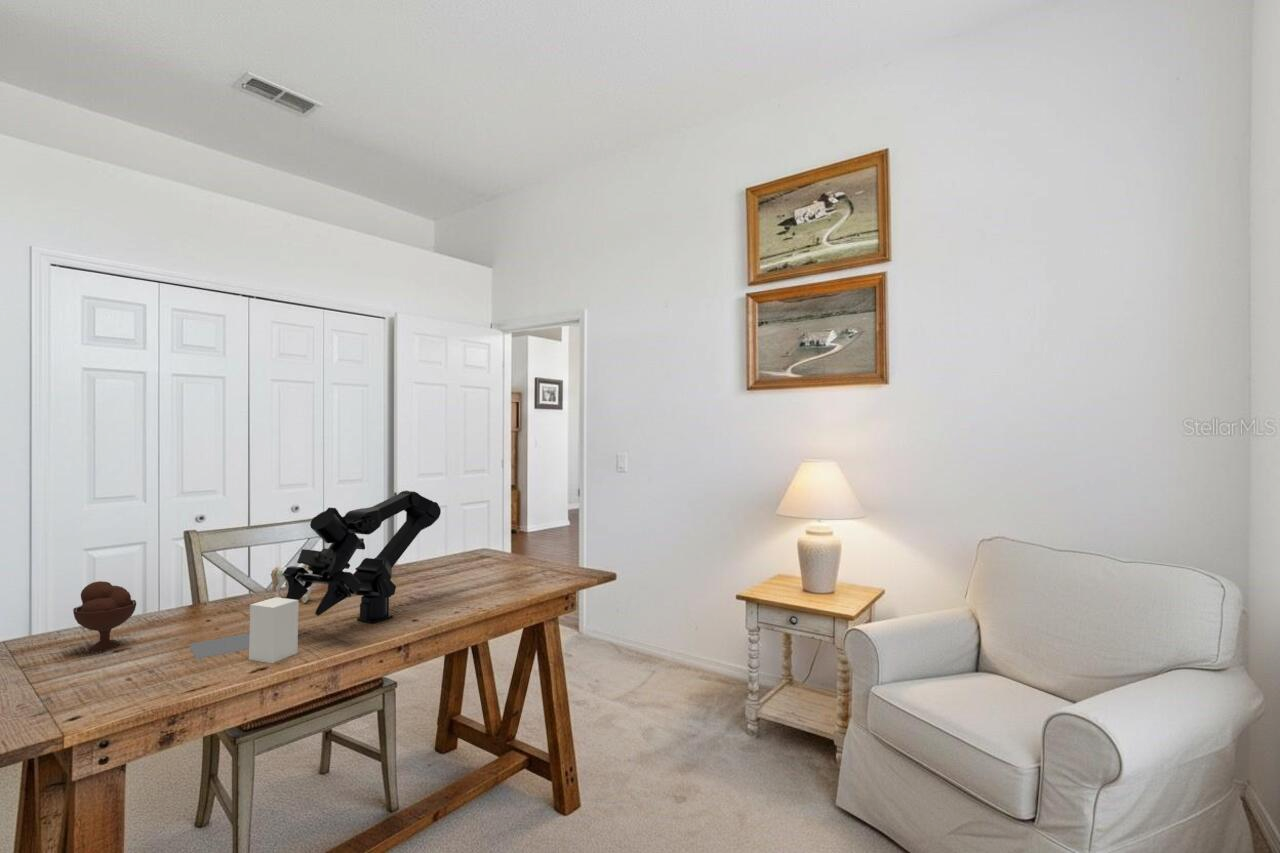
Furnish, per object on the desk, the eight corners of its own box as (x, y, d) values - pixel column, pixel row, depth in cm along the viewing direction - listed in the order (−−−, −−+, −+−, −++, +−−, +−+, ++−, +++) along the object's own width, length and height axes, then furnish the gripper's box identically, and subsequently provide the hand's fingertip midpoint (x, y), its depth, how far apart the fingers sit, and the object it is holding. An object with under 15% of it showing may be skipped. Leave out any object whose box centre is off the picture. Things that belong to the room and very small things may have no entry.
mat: (249, 634, 149) (249, 633, 149) (261, 648, 141) (261, 646, 141) (188, 645, 141) (188, 644, 141) (196, 660, 132) (196, 658, 132)
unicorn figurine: (332, 603, 177) (333, 556, 177) (259, 605, 174) (260, 557, 174) (341, 597, 184) (342, 551, 184) (271, 598, 181) (272, 552, 182)
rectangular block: (275, 651, 139) (276, 597, 139) (297, 654, 137) (298, 600, 137) (248, 661, 133) (250, 604, 133) (271, 665, 131) (273, 607, 131)
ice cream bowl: (99, 658, 133) (101, 588, 133) (58, 654, 135) (59, 584, 135) (148, 642, 143) (149, 577, 143) (108, 638, 145) (110, 574, 145)
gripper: (289, 532, 149) (247, 589, 139) (352, 537, 143) (312, 598, 133) (315, 558, 157) (277, 615, 146) (376, 564, 151) (340, 623, 140)
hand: (300, 612), depth 141 cm, fingers open, 9 cm apart
